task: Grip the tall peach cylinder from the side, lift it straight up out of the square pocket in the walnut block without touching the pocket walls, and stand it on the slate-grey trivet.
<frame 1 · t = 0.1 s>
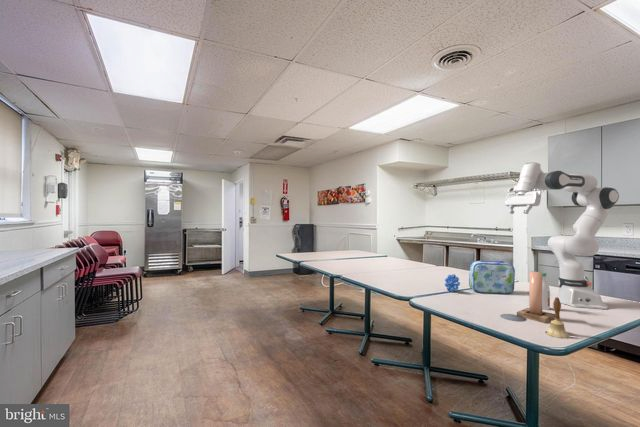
hand: (518, 213, 170), 52 cm above the table, tool tilted 20°, fingers open, 8 cm apart
milk bottle: (540, 309, 166), on the table
trivet: (513, 319, 150), on the table
pocket block: (535, 319, 150), on the table
hand bell: (557, 335, 131), on the table
grapes: (453, 292, 203), on the table
lunch box: (491, 292, 202), on the table
tall peach cylinder: (535, 317, 150), point 1 cm above the table, touching pocket block
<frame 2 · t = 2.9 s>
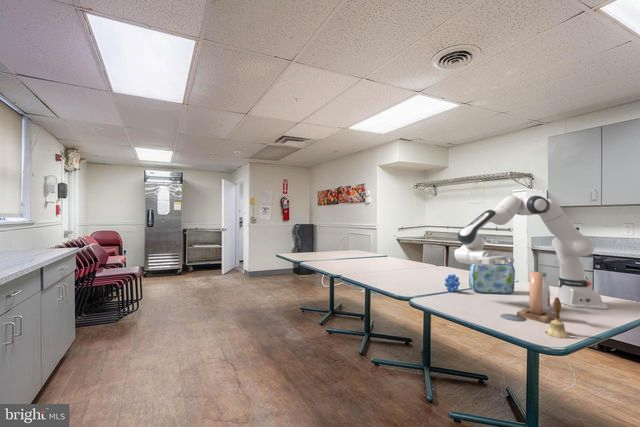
hand: (509, 261, 160), 27 cm above the table, tool horizontal, fingers open, 8 cm apart
nothing on the table moved.
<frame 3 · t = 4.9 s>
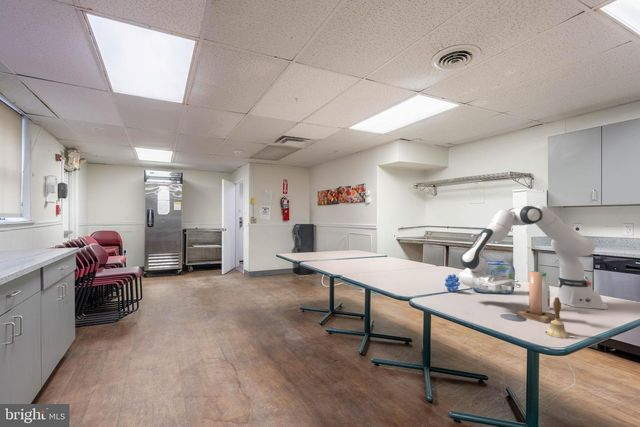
hand: (516, 287, 158), 14 cm above the table, tool horizontal, fingers open, 8 cm apart
nothing on the table moved.
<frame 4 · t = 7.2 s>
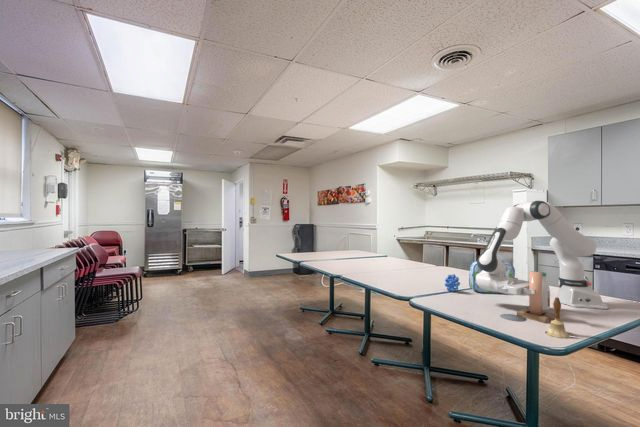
hand: (538, 291, 150), 14 cm above the table, tool horizontal, fingers closed on tall peach cylinder, 5 cm apart
tall peach cylinder: (535, 317, 150), point 1 cm above the table, touching gripper, pocket block
everything else where it was.
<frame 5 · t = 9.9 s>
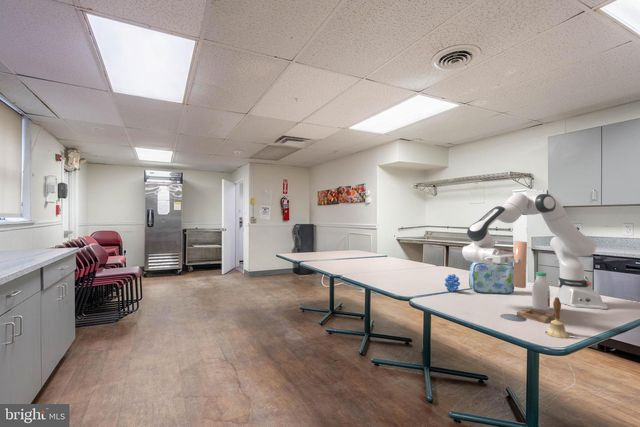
hand: (522, 260, 149), 29 cm above the table, tool horizontal, fingers closed on tall peach cylinder, 5 cm apart
tall peach cylinder: (519, 286, 150), point 16 cm above the table, touching gripper
everything else where it was.
when the fingers open (15 cm above the table, at t = 13.0 s): tall peach cylinder drops 1 cm, resting on trivet.
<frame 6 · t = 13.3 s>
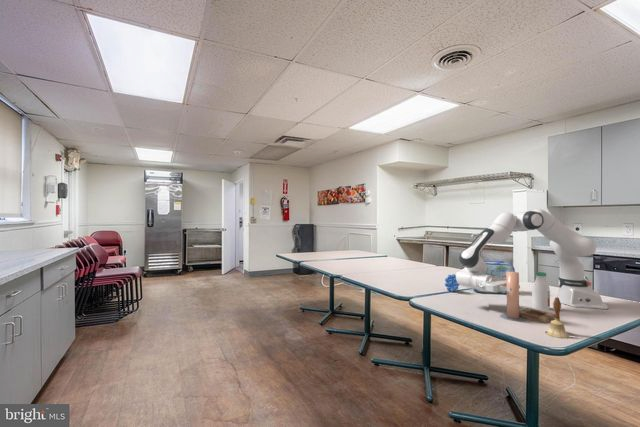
hand: (515, 288, 149), 15 cm above the table, tool horizontal, fingers open, 8 cm apart
tall peach cylinder: (513, 317, 150), point 1 cm above the table, touching trivet
everything else where it was.
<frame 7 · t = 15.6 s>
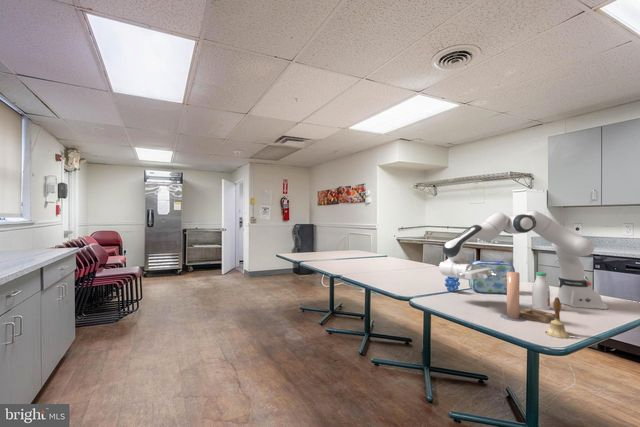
hand: (492, 275, 160), 20 cm above the table, tool horizontal, fingers open, 8 cm apart
nothing on the table moved.
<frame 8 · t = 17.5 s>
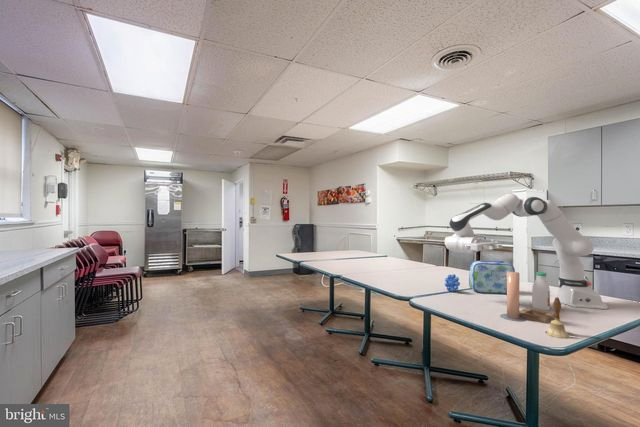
hand: (497, 247, 162), 34 cm above the table, tool horizontal, fingers open, 8 cm apart
nothing on the table moved.
at the end: tall peach cylinder inside the target area on the trivet (0.1 cm from its centre), point 1.0 cm above the trivet's base; tall peach cylinder tilted 0°; the gripper is holding nothing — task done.
